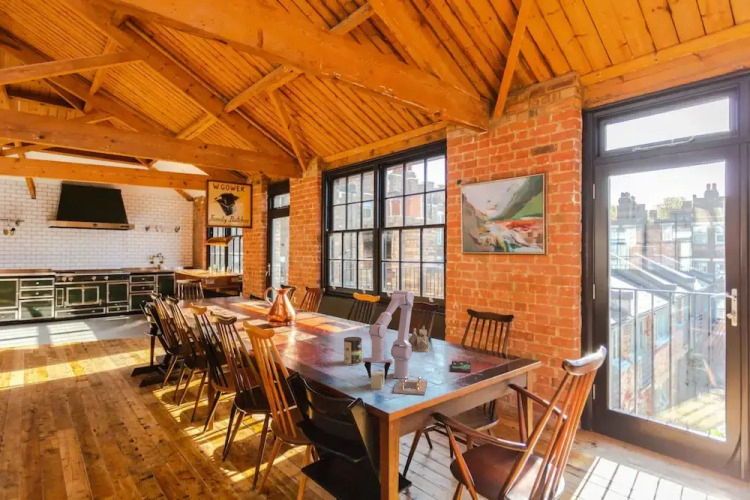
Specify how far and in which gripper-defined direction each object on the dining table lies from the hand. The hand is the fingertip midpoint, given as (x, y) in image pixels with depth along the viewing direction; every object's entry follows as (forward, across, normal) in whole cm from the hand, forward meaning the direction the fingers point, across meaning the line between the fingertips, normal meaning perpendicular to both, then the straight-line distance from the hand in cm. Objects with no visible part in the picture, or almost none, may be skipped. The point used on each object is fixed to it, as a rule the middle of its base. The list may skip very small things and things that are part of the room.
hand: (377, 378), depth 199 cm
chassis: (+4, +16, 0) cm, 17 cm away
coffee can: (+4, -22, +37) cm, 43 cm away
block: (+4, 0, 0) cm, 4 cm away
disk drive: (+4, +39, +37) cm, 54 cm away
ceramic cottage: (+4, +12, +77) cm, 78 cm away
